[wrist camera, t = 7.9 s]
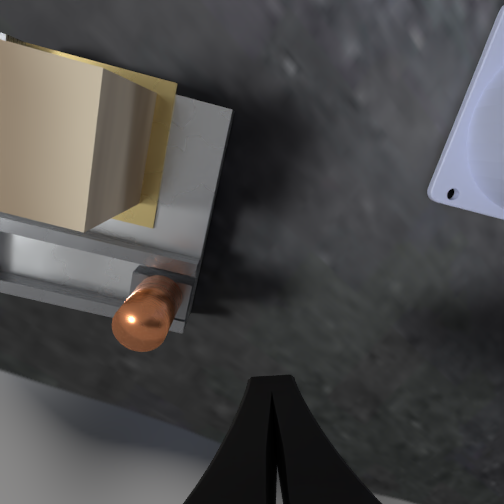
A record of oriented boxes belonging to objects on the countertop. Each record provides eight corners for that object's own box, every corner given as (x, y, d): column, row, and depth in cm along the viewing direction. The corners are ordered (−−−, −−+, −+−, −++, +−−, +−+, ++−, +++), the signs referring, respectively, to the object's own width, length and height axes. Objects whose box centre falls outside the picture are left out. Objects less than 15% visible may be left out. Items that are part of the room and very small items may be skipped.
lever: (196, 275, 16) (179, 312, 12) (188, 313, 16) (169, 358, 13) (140, 261, 16) (106, 295, 12) (133, 301, 16) (100, 343, 13)
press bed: (236, 102, 15) (232, 95, 13) (190, 313, 18) (180, 338, 16) (-39, 28, 14) (-95, 6, 12) (-38, 260, 17) (-83, 278, 15)
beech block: (157, 93, 14) (103, 67, 9) (139, 203, 15) (84, 232, 10) (42, 61, 13) (-78, 18, 9) (34, 176, 15) (-73, 193, 10)
